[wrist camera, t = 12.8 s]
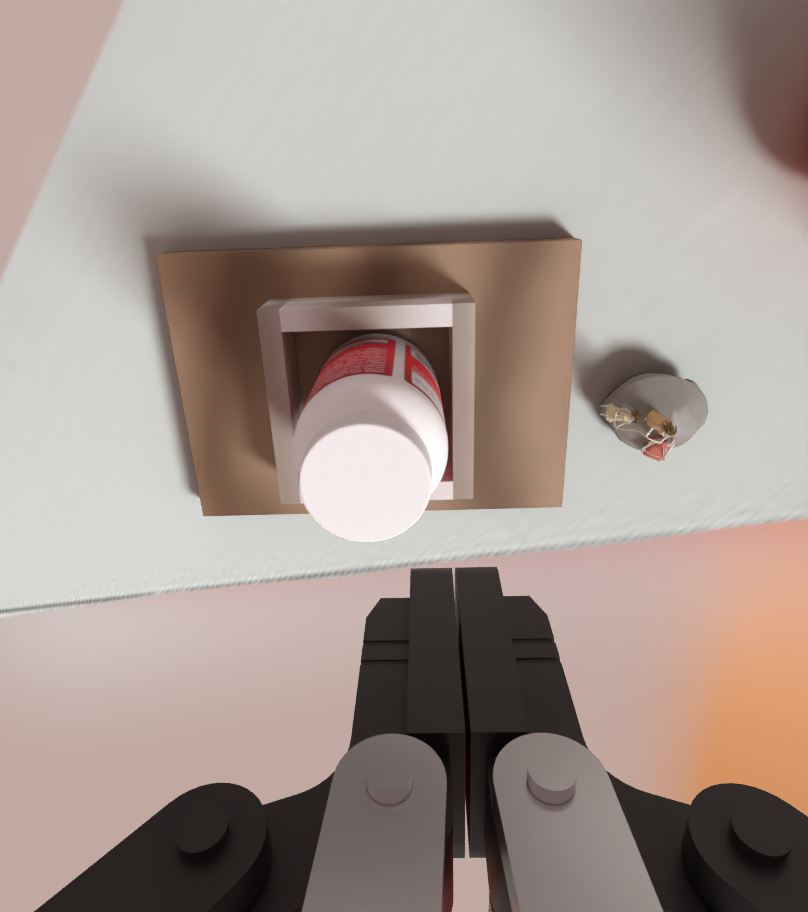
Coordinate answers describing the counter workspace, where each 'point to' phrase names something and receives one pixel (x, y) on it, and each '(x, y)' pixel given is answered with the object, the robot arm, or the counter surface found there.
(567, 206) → the counter surface
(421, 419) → the pill bottle
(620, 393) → the figurine
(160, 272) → the bottle holder
